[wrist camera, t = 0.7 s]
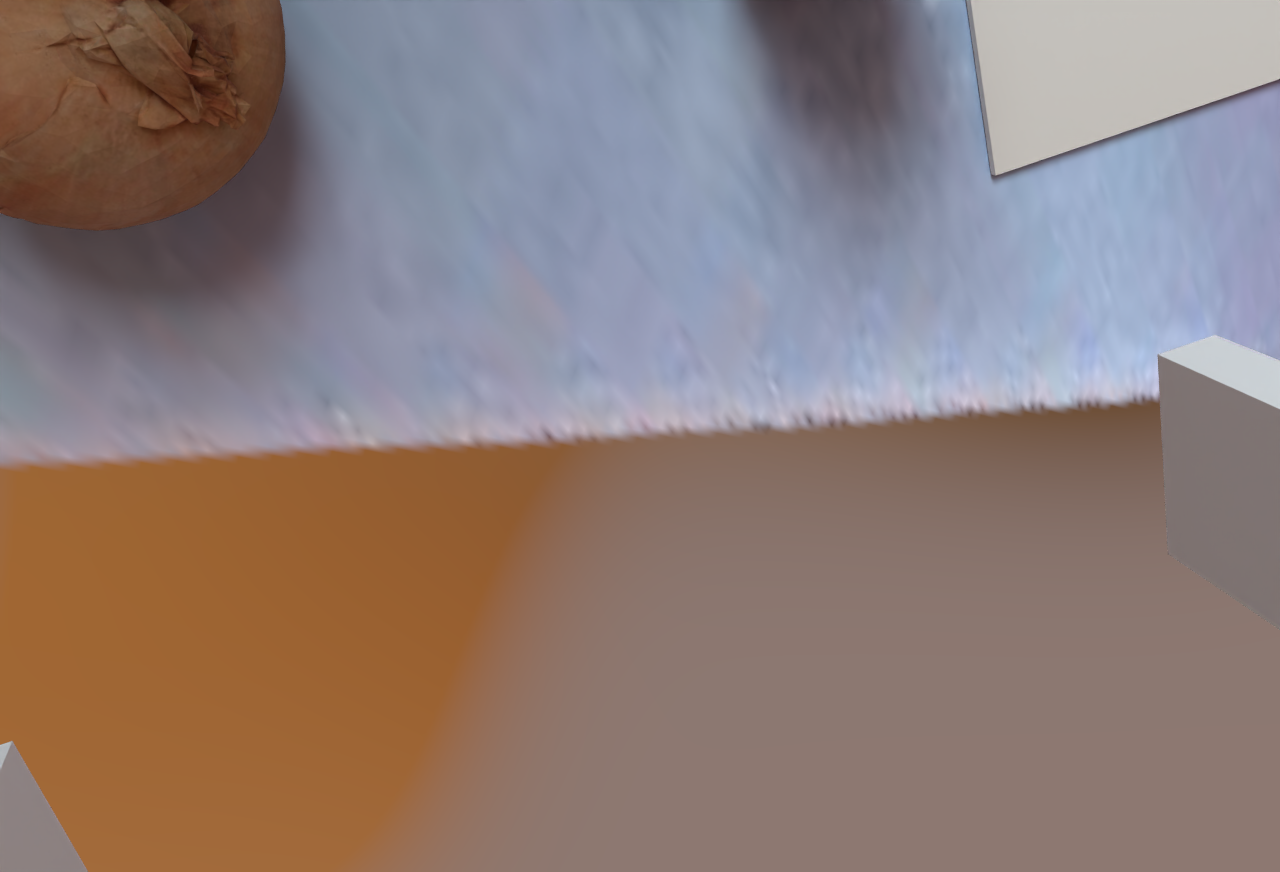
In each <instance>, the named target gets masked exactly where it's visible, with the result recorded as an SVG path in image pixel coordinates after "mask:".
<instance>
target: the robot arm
mask: <svg viewBox="0 0 1280 872" xmlns="http://www.w3.org/2000/svg"><path fill="white" fill-rule="evenodd" d="M1158 371H1159V391H1160V410H1161V430H1162V448H1163V468H1164V487H1165V507H1166V527H1167V546H1168V554H1169V555H1170V556H1172V557H1173V558H1175V559H1176V560H1178V561H1179V562H1181V563H1182V564H1184V565H1185V566H1187V567H1188V568H1190V569H1191V570H1192V571H1194V572H1195V573H1197V574H1198V575H1200V576H1201V577H1203V578H1204V579H1206V580H1207V581H1209V582H1210V583H1212V584H1213V585H1215V586H1216V587H1218V588H1219V589H1220V590H1222V591H1223V592H1225V593H1226V594H1228V595H1229V596H1231V597H1232V598H1234V599H1235V600H1237V601H1238V602H1240V603H1241V604H1243V605H1244V606H1245V607H1247V608H1248V609H1250V610H1251V611H1253V612H1254V613H1256V614H1258V615H1259V616H1260V617H1262V618H1263V619H1265V620H1266V621H1267V622H1269V623H1270V624H1272V625H1273V626H1275V627H1276V628H1278V629H1279V630H1280V360H1277V359H1274V358H1272V357H1269V356H1267V355H1264V354H1262V353H1259V352H1257V351H1254V350H1252V349H1249V348H1247V347H1244V346H1242V345H1239V344H1237V343H1234V342H1232V341H1229V340H1227V339H1224V338H1222V337H1219V336H1217V335H1214V336H1211V337H1208V338H1205V339H1202V340H1199V341H1196V342H1193V343H1190V344H1187V345H1184V346H1181V347H1178V348H1175V349H1172V350H1169V351H1166V352H1163V353H1160V354H1158ZM0 872H88V871H87V869H86V867H85V866H84V864H83V862H82V860H81V859H80V857H79V855H78V853H77V852H76V850H75V848H74V847H73V845H72V843H71V841H70V840H69V838H68V836H67V834H66V833H65V831H64V829H63V828H62V826H61V825H60V823H59V821H58V819H57V817H56V816H55V814H54V812H53V811H52V809H51V807H50V805H49V803H48V802H47V800H46V798H45V797H44V795H43V793H42V791H41V790H40V788H39V786H38V784H37V783H36V781H35V779H34V778H33V776H32V774H31V772H30V771H29V769H28V767H27V765H26V764H25V762H24V760H23V759H22V757H21V755H20V753H19V752H18V750H17V748H16V747H15V745H14V743H13V741H11V742H8V743H5V744H2V745H0Z"/></svg>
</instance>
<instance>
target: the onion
mask: <svg viewBox="0 0 1280 872" xmlns="http://www.w3.org/2000/svg"><path fill="white" fill-rule="evenodd" d="M284 71H285V31H284V24H283V16H282V8H281V4H280V1H279V0H0V213H1V214H4V215H7V216H10V217H13V218H20V219H24V220H27V221H30V222H33V223H35V224H42V225H50V226H56V227H64V228H71V229H84V230H97V231H98V230H111V229H121V228H126V227H131V226H136V225H142V224H146V223H150V222H153V221H157V220H161V219H164V218H167V217H169V216H172V215H175V214H177V213H180V212H183V211H185V210H188V209H190V208H192V207H194V206H196V205H198V204H200V203H201V202H203V201H204V200H205V199H207V198H208V197H210V196H211V195H212V194H214V193H215V192H217V191H218V190H219V189H220V188H221V187H223V186H224V185H225V184H226V183H227V182H228V181H229V180H231V179H232V178H233V177H234V176H235V175H236V174H237V173H239V171H240V170H241V169H242V168H243V166H244V165H245V164H246V163H247V161H248V160H249V159H250V158H251V156H252V155H253V154H254V152H255V151H256V150H257V148H258V147H259V145H260V144H261V143H262V141H263V140H264V138H265V136H266V134H267V131H268V129H269V126H270V123H271V121H272V118H273V116H274V113H275V111H276V107H277V104H278V100H279V96H280V92H281V89H282V85H283V81H284Z"/></svg>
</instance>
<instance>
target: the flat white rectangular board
mask: <svg viewBox="0 0 1280 872" xmlns="http://www.w3.org/2000/svg"><path fill="white" fill-rule="evenodd" d="M966 3H967V10H968V17H969V24H970V31H971V38H972V45H973V52H974V59H975V66H976V73H977V80H978V86H979V93H980V100H981V107H982V114H983V121H984V128H985V135H986V142H987V149H988V156H989V163H990V170H991V174H992V175H995V176H996V175H999V174H1002V173H1005V172H1008V171H1011V170H1014V169H1017V168H1020V167H1023V166H1025V165H1028V164H1031V163H1034V162H1037V161H1040V160H1043V159H1046V158H1049V157H1052V156H1055V155H1058V154H1061V153H1064V152H1067V151H1070V150H1072V149H1075V148H1078V147H1081V146H1084V145H1087V144H1090V143H1093V142H1096V141H1099V140H1102V139H1105V138H1108V137H1111V136H1114V135H1117V134H1120V133H1122V132H1125V131H1128V130H1131V129H1134V128H1137V127H1140V126H1143V125H1146V124H1149V123H1152V122H1155V121H1158V120H1161V119H1164V118H1167V117H1170V116H1172V115H1175V114H1178V113H1181V112H1184V111H1187V110H1190V109H1193V108H1196V107H1199V106H1202V105H1205V104H1208V103H1211V102H1214V101H1217V100H1220V99H1222V98H1225V97H1228V96H1231V95H1234V94H1237V93H1240V92H1243V91H1246V90H1249V89H1252V88H1255V87H1258V86H1261V85H1264V84H1267V83H1269V82H1272V81H1275V80H1278V79H1280V0H966Z"/></svg>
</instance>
